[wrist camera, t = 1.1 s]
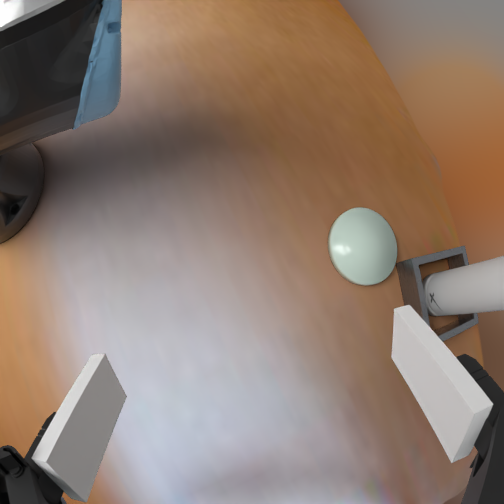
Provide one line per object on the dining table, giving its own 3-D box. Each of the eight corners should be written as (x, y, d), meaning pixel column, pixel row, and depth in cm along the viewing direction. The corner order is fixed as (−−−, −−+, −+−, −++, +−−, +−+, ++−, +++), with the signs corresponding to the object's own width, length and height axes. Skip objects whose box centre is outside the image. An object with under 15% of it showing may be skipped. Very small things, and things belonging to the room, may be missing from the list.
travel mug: (413, 309, 40) (533, 294, 21) (424, 267, 42) (536, 234, 22) (440, 324, 40) (553, 315, 21) (450, 283, 42) (556, 260, 23)
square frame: (395, 263, 41) (411, 258, 37) (449, 250, 43) (464, 245, 40) (411, 347, 39) (427, 348, 35) (462, 323, 41) (478, 322, 38)
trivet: (319, 214, 39) (323, 211, 38) (381, 207, 42) (386, 204, 41) (337, 293, 38) (341, 292, 37) (398, 277, 40) (404, 276, 39)
